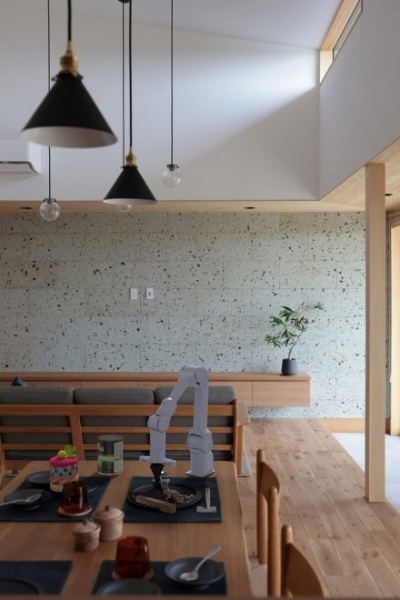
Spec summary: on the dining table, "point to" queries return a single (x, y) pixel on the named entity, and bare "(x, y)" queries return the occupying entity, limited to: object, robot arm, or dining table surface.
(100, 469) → the coffee can
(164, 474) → the crank
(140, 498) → the brown wooden bar
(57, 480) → the cake
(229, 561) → the dining table surface
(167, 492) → the frog figurine
